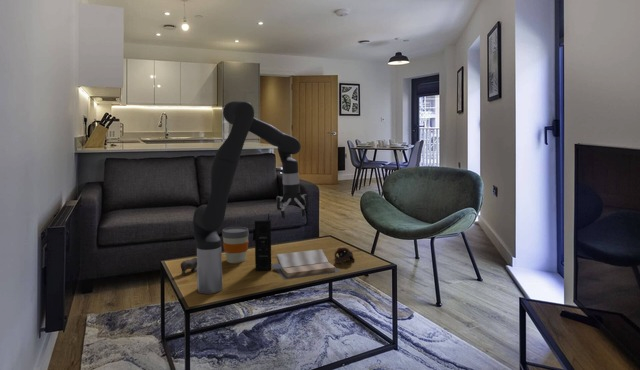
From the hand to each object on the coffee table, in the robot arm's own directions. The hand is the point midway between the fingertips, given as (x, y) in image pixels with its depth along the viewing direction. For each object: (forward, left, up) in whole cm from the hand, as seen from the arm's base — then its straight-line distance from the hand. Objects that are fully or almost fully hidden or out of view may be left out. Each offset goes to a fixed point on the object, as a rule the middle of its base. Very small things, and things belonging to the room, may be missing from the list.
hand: (293, 217), depth 197 cm
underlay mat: (+3, -8, -22) cm, 24 cm away
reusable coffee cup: (-23, +16, -22) cm, 36 cm away
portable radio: (-15, -2, -22) cm, 27 cm away
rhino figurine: (-44, +8, -22) cm, 50 cm away
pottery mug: (+23, -6, -22) cm, 33 cm away
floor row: (+3, -13, -22) cm, 26 cm away
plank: (+3, -4, -19) cm, 20 cm away
